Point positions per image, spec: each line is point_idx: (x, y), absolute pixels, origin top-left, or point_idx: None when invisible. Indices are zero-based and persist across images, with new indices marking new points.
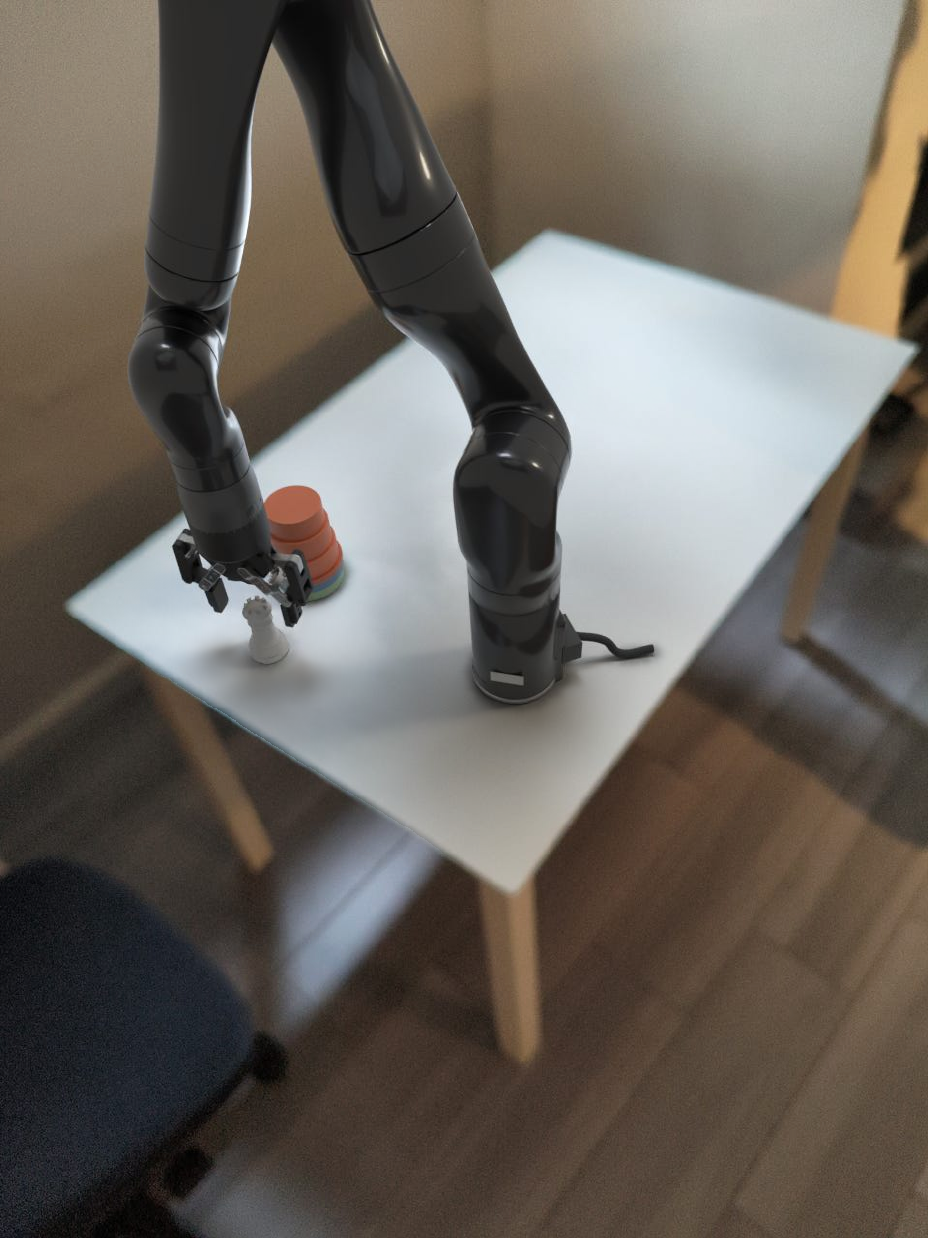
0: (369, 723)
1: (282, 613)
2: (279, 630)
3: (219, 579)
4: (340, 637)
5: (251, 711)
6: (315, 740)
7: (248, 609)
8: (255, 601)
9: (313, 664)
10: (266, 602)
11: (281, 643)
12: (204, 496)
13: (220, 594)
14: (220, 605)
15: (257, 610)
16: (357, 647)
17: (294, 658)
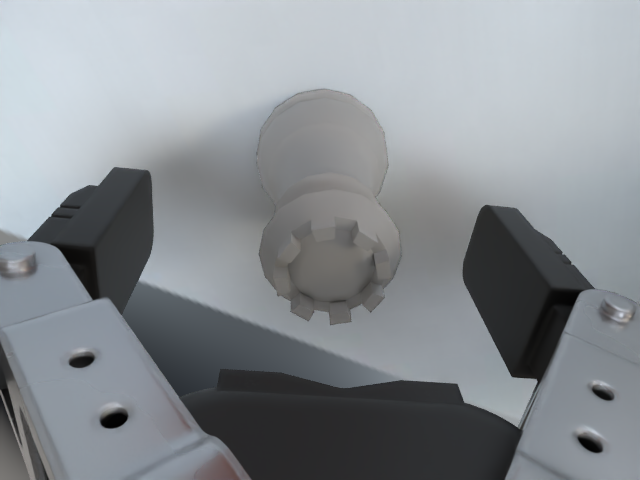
0: None
1: (493, 335)
2: (367, 143)
3: (87, 262)
4: (553, 61)
5: (329, 334)
6: (499, 378)
7: (309, 308)
8: (321, 245)
9: (469, 182)
10: (388, 263)
11: (380, 180)
12: None
13: (125, 256)
14: (142, 252)
15: (348, 293)
16: (612, 99)
17: (406, 167)
